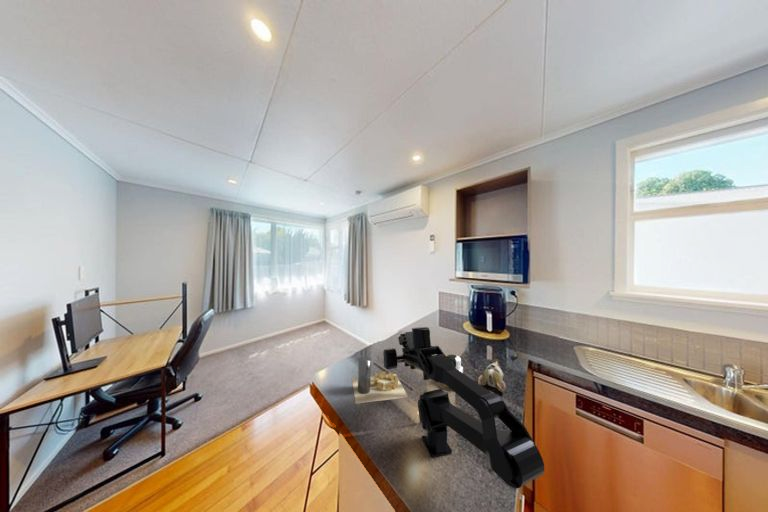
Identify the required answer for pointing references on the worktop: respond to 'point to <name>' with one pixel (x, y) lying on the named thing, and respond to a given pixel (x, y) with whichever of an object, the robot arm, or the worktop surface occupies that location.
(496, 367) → the ceramic sculpture
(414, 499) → the worktop surface
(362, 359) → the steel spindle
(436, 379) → the robot arm
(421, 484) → the worktop surface
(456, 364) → the medicine bottle
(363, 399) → the birch plate
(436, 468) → the worktop surface
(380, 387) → the ring nut
